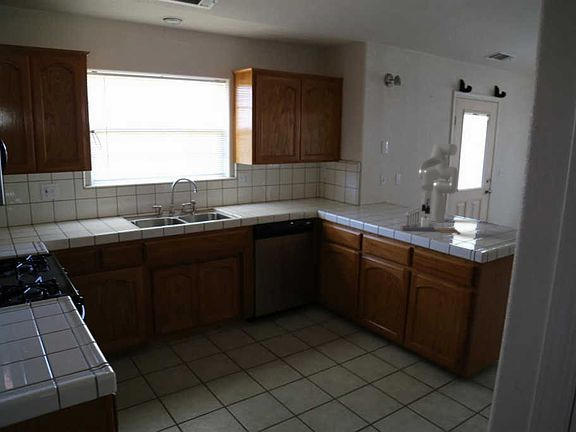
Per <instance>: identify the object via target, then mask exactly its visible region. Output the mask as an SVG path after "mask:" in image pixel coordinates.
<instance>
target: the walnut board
mask: <svg viewBox="0 0 576 432" xmlns="http://www.w3.org/2000/svg"><path fill="white" fill-rule="evenodd" d="M435 230H437V231H438V232H439V233H440V234H441V233H444V234H446V233H447V234H457V235H461V232H460V231H458V230H457V229H456V228H454V227H453V228H452V227H451V228H449V227H442V228H441V227H435Z"/></svg>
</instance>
